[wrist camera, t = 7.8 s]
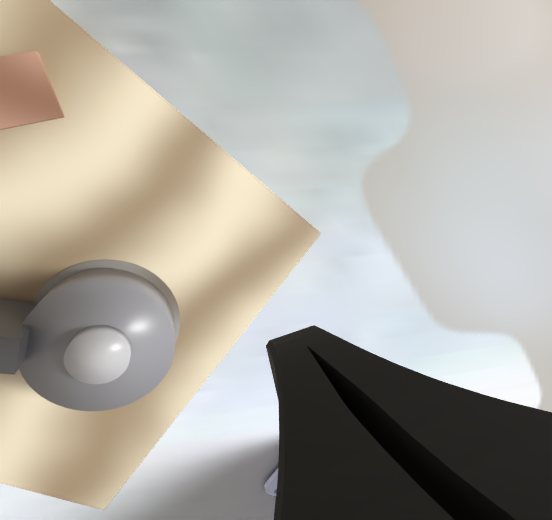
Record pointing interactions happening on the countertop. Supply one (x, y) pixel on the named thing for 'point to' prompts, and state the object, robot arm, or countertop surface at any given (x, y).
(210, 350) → the tuner board
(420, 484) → the robot arm
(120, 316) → the peg dial
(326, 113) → the countertop surface
